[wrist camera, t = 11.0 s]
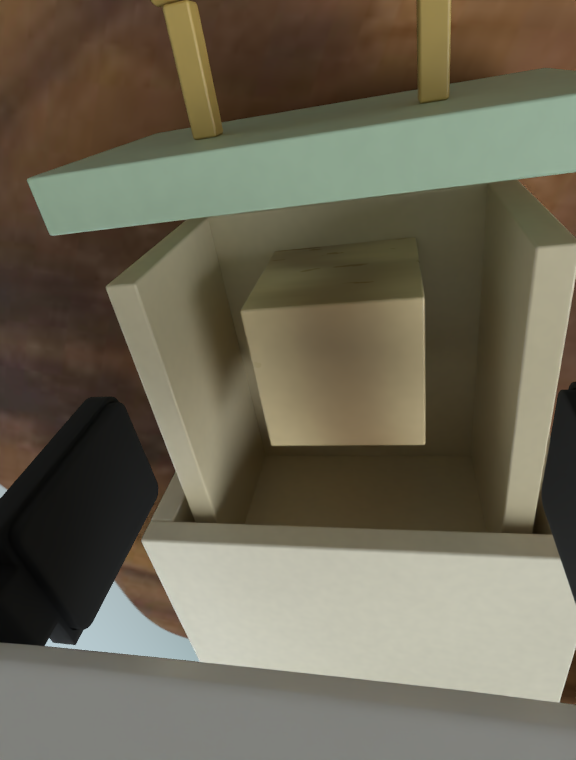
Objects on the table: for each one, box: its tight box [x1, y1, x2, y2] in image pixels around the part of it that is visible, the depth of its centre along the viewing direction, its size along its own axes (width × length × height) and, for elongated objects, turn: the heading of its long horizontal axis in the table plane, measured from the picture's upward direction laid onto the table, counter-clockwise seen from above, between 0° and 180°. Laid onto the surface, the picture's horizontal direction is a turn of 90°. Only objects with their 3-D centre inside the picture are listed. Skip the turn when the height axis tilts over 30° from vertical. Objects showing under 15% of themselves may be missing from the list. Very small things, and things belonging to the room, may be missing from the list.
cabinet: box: [141, 435, 576, 703], centre depth 21 cm, size 15×13×9 cm
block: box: [240, 237, 426, 446], centre depth 15 cm, size 4×4×4 cm
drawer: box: [27, 0, 576, 534], centre depth 14 cm, size 17×11×7 cm, turn 9°
